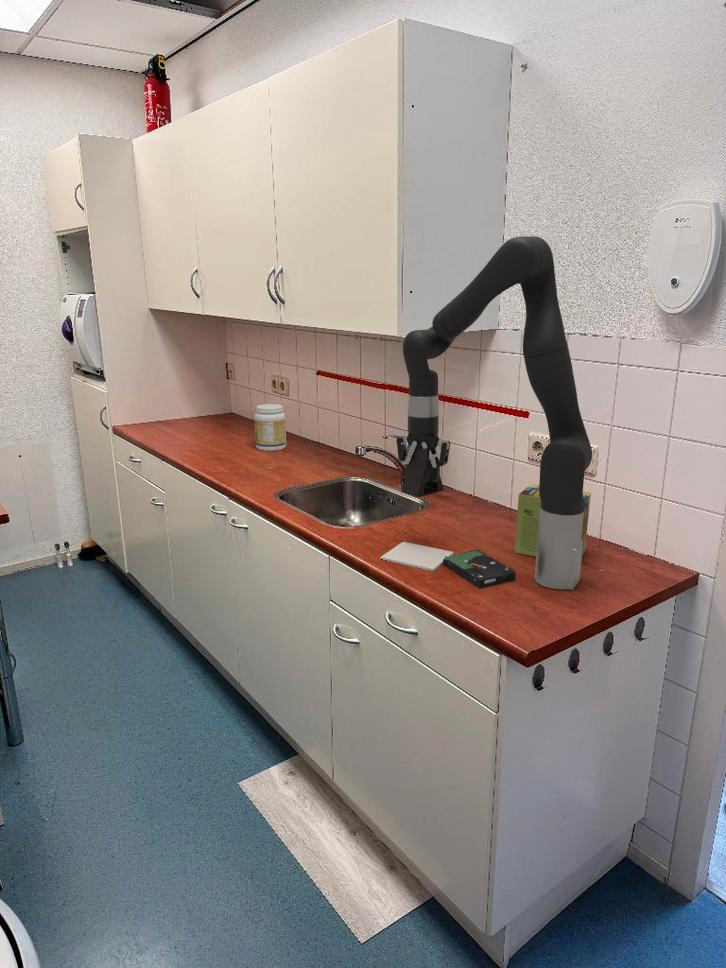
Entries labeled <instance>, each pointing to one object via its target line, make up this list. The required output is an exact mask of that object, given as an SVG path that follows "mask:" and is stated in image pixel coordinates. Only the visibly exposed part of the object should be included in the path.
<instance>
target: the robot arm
mask: <svg viewBox="0 0 726 968" xmlns="http://www.w3.org/2000/svg"><path fill="white" fill-rule="evenodd" d="M516 285H520V289H521V291H522V294H523V295H522V296H523V299H524V300H523V301H524V304H525V322H524V329H523V337H522V353H523V354H522V355H523V361H524V366H525V370H526V373H527V378H528V381H529V385H530V387H531V389H532V390H533V392H534V394H535V396H536V398H537V400H538V402H539V404H540V406H541V408H542V410H543V413H544V414H545V417H546V423H547V428H548V436H549V443H548V444H547V446H545V448H544V449H543V451H542V454H541V459H540V466H539V483H538V485H539V495H540V499H541V505H540V518H539V530H538V542H537V554H536V557H535V568H534V581H535V582H536V583H537V584H538V585H540V586H542V587H545V588H547V589H552V590H553V589H554V590H571V591H573V590H574V589H575V587H576V586H577V585H578V583H579V582H580V579H581V578H580V577H581V569H582V568H581V567H582V558H583V555H582V550H583V541H581V537H582V526H583V516H584V508H585V499H584V497H583V491H584V484H585V472H586V470H587V469H588V468H589V467H590V465H591V463H592V459H593V449H592V446H591V442H590V440H589V437H588V433H587V430H586V427H585V425H584V421H583V418H582V414H581V411H580V406H579V400H578V393H577V386H576V381H575V376H574V375H575V374H574V369H573V364H572V360H571V354H570V350H569V344H568V341H567V336H566V332H565V327H564V323H563V318H562V317H563V316H562V313H561V308H560V303H559V299H558V291H557V290H558V289H557V281H556V271H555V261H554V255H553V250H552V248H551V247H550V245H549V244H548V242H547V241H546V240H545V239H543V238H542V237H540V236H536V235H531V236H530V235H529V236H515V237H512V238H509V239H507V240H506V241H505V242H503V244H502V245H501V246H500V247H499V248H498V250H497V251H496V252H495V253H494V254H493V255H492V257H491V258H490V260H489V261H488V262H487V263H486V265H485V266H484V267H483V268H482V269H481V271H480V272H478V274H477V275H476V276H475V277H474V279H472V281H471V282H470V283H469V284H468V285H467V286H465V288H464V289H462V291H461V292H460V293H459V294H457V295H456V296H455V297H454V298H453V299H451V300H450V302H448V303H447V304H446V305H445V306H444V307H443V308H441V310H439V311H438V312H437V313H436V314H435V315H434V316H433V319H432V326H431V327H429V328H428V329H427V328H425V329H415V330H412V331H410V332H408V333H407V334H406V335H405V338H404V339H403V343H402V354H403V358H404V363H405V366H406V367H405V368H406V371H407V374H408V402H407V433H408V434H407V436H404V435H401V436H399V437H397V438H396V448H397V455H398V460H399V461H400V462H404V463H405V472H406V471H407V467H408V464H409V463H410V461H411V459H412V457H413V455H414V452H415V454H416V450H417V449H418V448H421V447H423V449H427V448H429V447H430V449H429V450H428V457H429V459H430V460H431V461H430V462H431V464H432V466H433V467H432V482H436V481H437V480H438V479H439V478H440V477H441V467H443V466H445V465H447V464H448V462H449V454H450V449H451V448H450V447H451V442H450V440H445V441H444V440H441V439H440V437H439V427H440V426H439V425H440V423H439V422H440V421H439V420H440V419H439V417H440V415H439V414H440V412H439V409H440V402H439V376H438V375H439V374H438V372H437V371H435V370H433V369H430V367H429V362H428V360H433V359H436V358H438V357H440V356H442V355H443V354H445V352H446V351H447V350H448V349H449V347H450V346H451V345H452V344H453V342H454V341H455V339H456V338H457V337H459V336H460V335H461V334H463V332H465V331H466V330H467V329H468V328H470V327H471V326H472V325H473V324H474V323H475V322H476V321H477V320H478V319H479V318H480V317H481V316H482V314H483V312H484V311H485V309H486V308H487V307H488V306H489V304H490V303H491V302H492V301H493V300H494V299H495V298H497V297H498V296H499V295H500V294H502V293H504V292H505V291H507V290H509V289H510V288H512V287H514V286H516ZM407 444H408V445H409V447H410V448H409V449H408V451H407ZM438 446H439V450H440V453H438V450H437V447H438ZM434 448H435V450H436V454H434V455H432V452H433V450H434ZM435 458H436V460H435Z"/></svg>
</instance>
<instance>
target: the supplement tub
mask: <svg viewBox="0 0 726 968" xmlns="http://www.w3.org/2000/svg"><path fill="white" fill-rule="evenodd" d="M283 411H284V405H282V404H276V403H272V404H271V403H267V404H260V405H259V404H258V405H257V406H256V413H255V414H254V434H255V435H254V436H255V447H256V449H258V450H260V451H264V452H269V451H273V452H275V451H276V450H277V451H281V450H283V449H285V448H286V447H287V429H286V428H287V427H286V418H287V417H286V414H285V413H284V412H283ZM277 451H276V452H277Z"/></svg>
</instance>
